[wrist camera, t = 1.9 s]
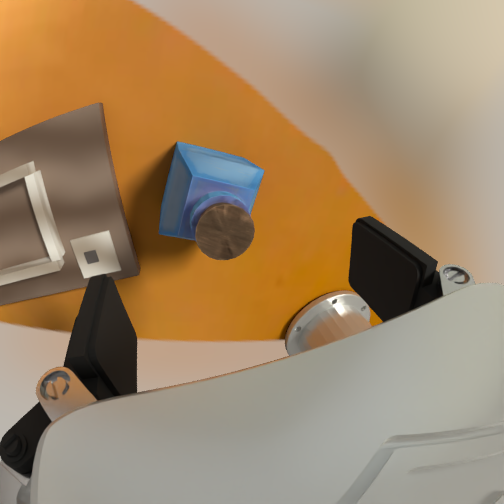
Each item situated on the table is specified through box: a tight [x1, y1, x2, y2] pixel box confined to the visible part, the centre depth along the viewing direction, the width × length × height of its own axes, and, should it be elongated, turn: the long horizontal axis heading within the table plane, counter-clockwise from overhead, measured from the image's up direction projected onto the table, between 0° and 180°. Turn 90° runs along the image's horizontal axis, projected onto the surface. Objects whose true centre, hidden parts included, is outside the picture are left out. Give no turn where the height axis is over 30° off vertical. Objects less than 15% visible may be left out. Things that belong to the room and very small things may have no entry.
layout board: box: [0, 103, 140, 305], centre depth 21 cm, size 16×19×3 cm
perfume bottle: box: [159, 142, 264, 260], centre depth 21 cm, size 6×6×12 cm
